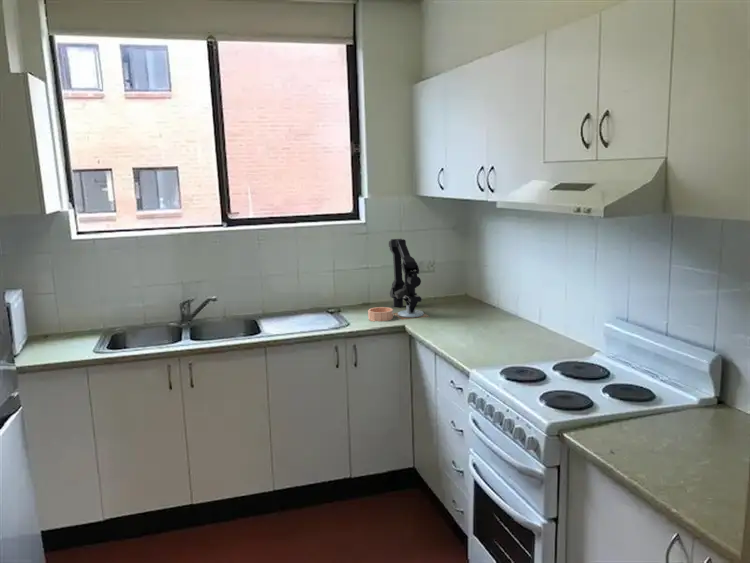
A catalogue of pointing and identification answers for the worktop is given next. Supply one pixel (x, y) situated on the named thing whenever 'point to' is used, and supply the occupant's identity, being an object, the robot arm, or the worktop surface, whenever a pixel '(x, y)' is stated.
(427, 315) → the board
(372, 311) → the bowl
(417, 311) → the lid
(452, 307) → the worktop surface
